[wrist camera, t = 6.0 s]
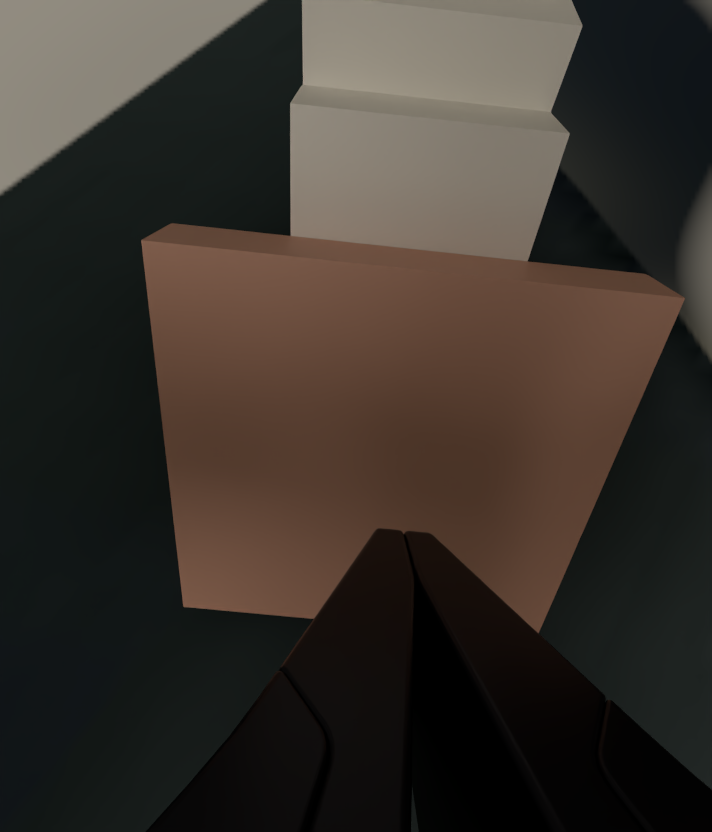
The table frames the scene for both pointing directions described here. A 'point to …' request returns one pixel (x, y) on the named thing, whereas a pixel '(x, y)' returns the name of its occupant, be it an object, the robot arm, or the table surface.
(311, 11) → the domino
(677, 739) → the table surface
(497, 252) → the domino
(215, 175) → the table surface
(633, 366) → the domino
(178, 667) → the table surface
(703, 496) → the table surface
